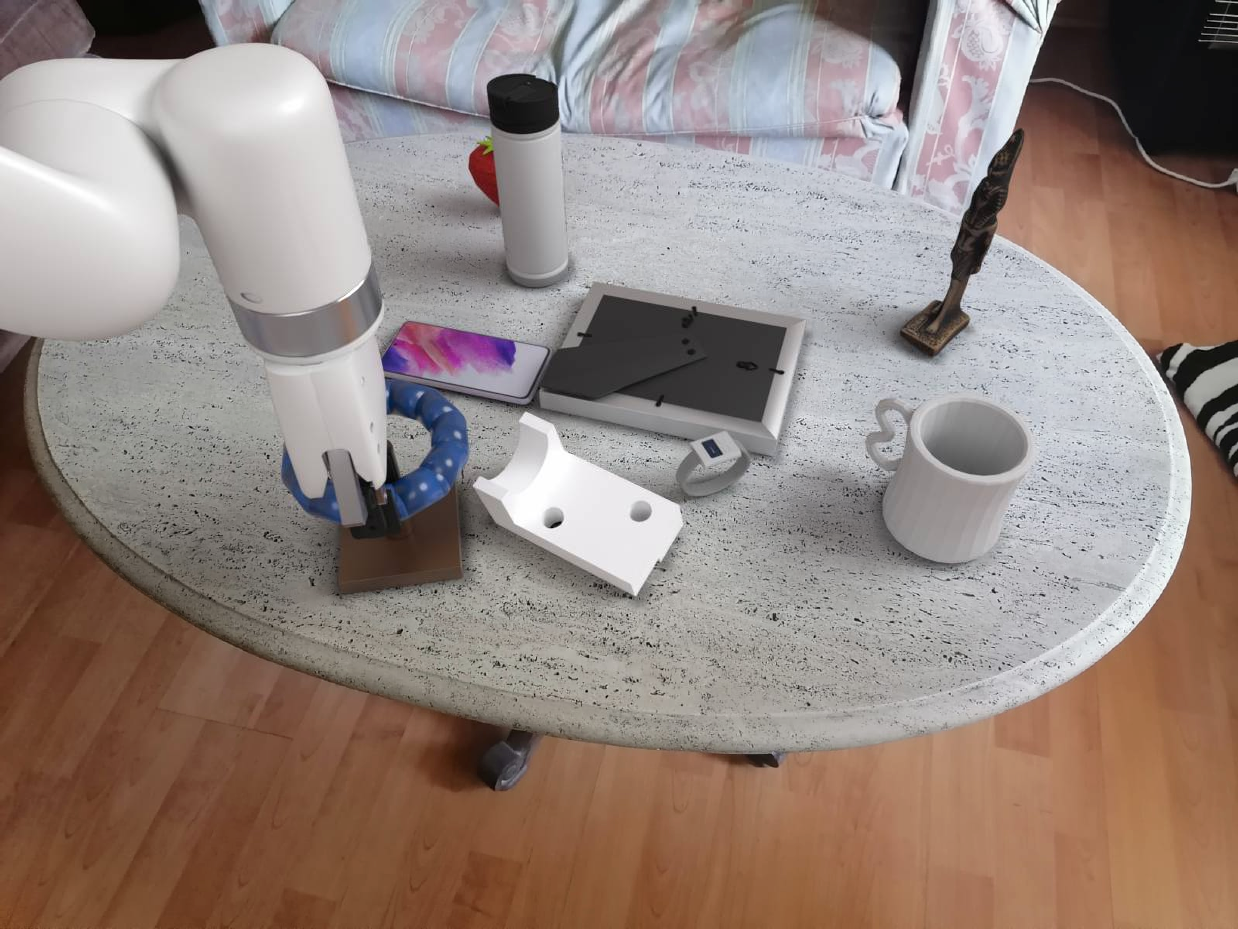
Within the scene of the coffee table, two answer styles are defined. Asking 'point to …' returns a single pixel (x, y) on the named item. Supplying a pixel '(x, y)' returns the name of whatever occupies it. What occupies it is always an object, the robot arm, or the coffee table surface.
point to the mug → (952, 473)
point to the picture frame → (676, 366)
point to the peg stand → (405, 550)
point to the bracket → (580, 509)
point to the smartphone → (466, 362)
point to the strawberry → (484, 169)
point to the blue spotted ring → (421, 482)
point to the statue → (967, 253)
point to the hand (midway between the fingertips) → (377, 510)
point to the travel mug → (529, 177)
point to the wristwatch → (713, 463)
